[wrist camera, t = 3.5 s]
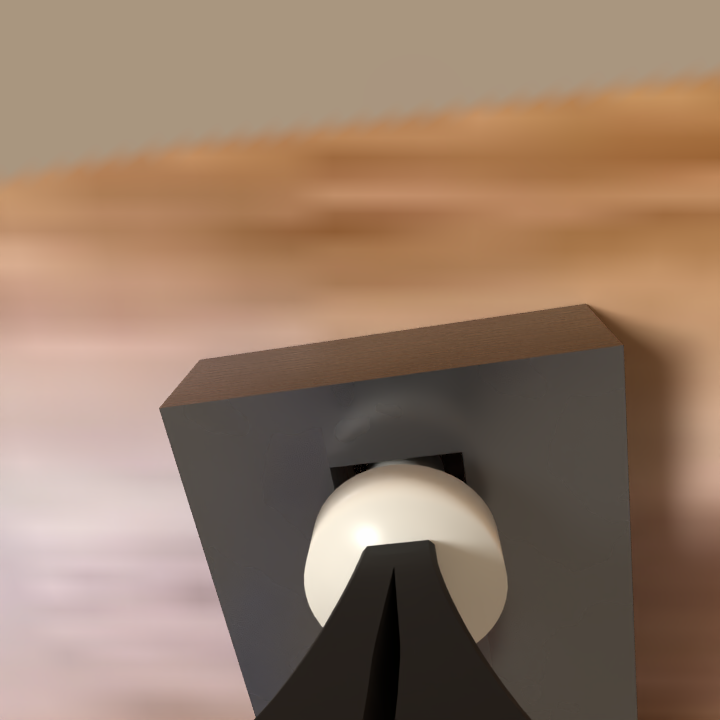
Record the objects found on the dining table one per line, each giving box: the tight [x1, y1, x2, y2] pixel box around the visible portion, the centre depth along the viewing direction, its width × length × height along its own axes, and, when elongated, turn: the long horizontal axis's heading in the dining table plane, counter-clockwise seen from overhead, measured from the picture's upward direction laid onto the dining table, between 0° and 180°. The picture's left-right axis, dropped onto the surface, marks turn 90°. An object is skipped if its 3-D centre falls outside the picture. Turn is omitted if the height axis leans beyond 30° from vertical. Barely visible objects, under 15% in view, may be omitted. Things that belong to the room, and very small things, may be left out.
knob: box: [304, 455, 508, 643], centre depth 15 cm, size 4×4×4 cm
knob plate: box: [159, 304, 637, 720], centre depth 19 cm, size 20×10×3 cm, turn 10°
